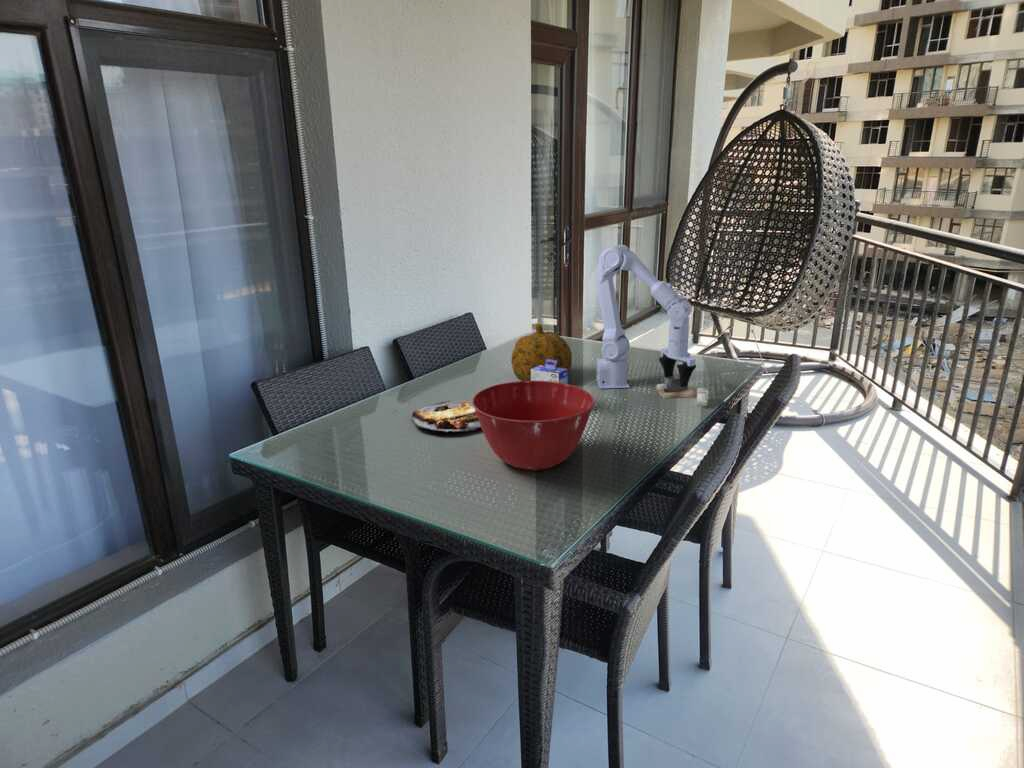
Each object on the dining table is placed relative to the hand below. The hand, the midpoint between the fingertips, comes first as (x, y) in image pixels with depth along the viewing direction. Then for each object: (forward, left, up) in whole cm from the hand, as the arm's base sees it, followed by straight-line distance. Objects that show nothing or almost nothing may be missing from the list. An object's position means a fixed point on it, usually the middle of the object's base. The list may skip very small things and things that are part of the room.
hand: (676, 383), depth 198 cm
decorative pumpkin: (-40, +18, -3) cm, 44 cm away
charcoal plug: (-1, 0, -2) cm, 2 cm away
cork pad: (0, 0, -3) cm, 3 cm away
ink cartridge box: (-40, -10, -3) cm, 41 cm away
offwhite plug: (+5, -10, -3) cm, 12 cm away
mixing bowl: (-47, -45, -3) cm, 65 cm away
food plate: (-67, -17, -4) cm, 69 cm away
